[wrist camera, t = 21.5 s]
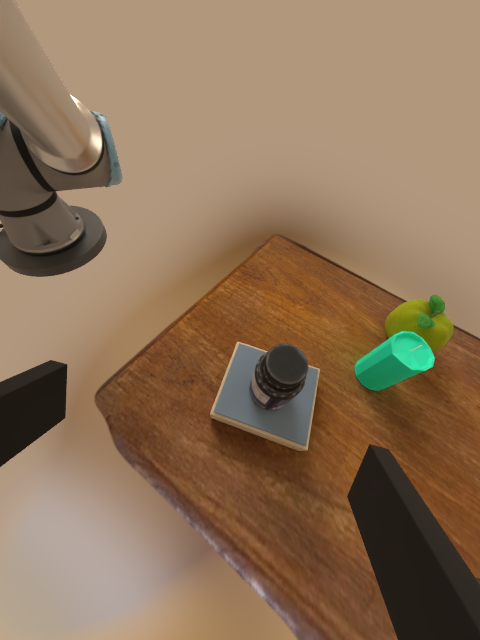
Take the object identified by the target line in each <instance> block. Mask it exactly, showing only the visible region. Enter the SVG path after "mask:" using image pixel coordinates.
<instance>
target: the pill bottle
mask: <svg viewBox="0 0 480 640" xmlns="http://www.w3.org/2000/svg"><path fill="white" fill-rule="evenodd" d="M307 372H308V361H307V358H306V356H305V355H304V353H303V352H302V351H301V350H300V349H299V348H297V347H295V346H293V345H291V344H279V345H276V346H274V347H273V348H271V349H270V350H269V351H268V352H266V353H264V354H263V355H262V356H261V357H260V358H259V360H258V362H257V364H256V367H255V370H254V373H253V376H252V379H251V382H250V387H249V390H250V395H251V397H252V399H253V400H254V402H255V403H256V404H257V405H258V406H259V407H261V408H264V409H266V410H278V409H280V408H282V407H283V406H285V405H286V404H287V403H288V402H289V401H291V400H292V399H293V398H294V397H295V396H296V395H298V394H299V392H301V390H302V389H303V387H304V385H305V382H306V375H307Z"/></svg>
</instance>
